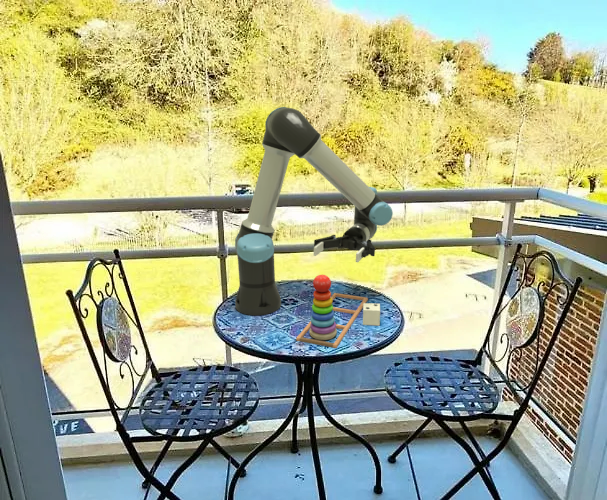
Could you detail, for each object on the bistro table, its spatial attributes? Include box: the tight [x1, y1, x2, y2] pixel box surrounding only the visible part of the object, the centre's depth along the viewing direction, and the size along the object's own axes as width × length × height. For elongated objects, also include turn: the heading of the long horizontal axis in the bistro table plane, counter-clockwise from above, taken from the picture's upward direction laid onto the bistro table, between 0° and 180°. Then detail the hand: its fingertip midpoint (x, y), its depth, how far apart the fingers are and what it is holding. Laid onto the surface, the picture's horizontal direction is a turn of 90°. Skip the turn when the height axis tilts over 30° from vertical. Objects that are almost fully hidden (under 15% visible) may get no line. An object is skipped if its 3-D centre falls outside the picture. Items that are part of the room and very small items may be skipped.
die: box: [362, 302, 381, 326], centre depth 141 cm, size 5×5×5 cm
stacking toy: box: [308, 274, 337, 341], centre depth 131 cm, size 8×8×19 cm
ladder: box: [295, 292, 369, 349], centre depth 143 cm, size 12×34×1 cm, turn 158°
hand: (335, 254), depth 139 cm, fingers open, 13 cm apart
